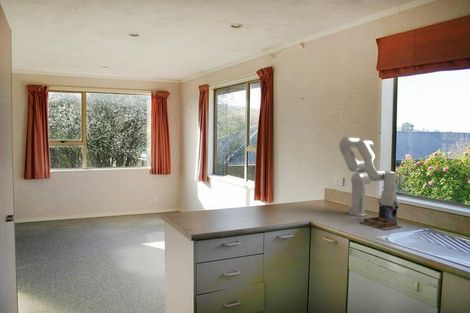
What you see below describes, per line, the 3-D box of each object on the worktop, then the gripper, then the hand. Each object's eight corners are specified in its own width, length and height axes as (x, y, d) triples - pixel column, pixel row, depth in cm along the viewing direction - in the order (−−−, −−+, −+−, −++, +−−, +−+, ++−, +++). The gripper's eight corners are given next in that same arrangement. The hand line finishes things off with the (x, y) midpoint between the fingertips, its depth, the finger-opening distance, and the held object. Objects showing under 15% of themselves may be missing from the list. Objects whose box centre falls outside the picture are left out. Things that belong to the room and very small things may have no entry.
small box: (383, 222, 262) (384, 207, 261) (377, 220, 268) (378, 205, 268) (397, 222, 264) (397, 207, 263) (391, 219, 270) (392, 205, 270)
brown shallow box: (360, 223, 257) (360, 218, 256) (376, 221, 265) (376, 216, 265) (385, 230, 239) (385, 224, 239) (401, 227, 248) (401, 222, 247)
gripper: (375, 188, 270) (374, 212, 271) (396, 190, 255) (395, 216, 256) (382, 187, 274) (381, 211, 275) (403, 190, 259) (403, 215, 260)
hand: (388, 213), depth 265 cm, fingers open, 9 cm apart
